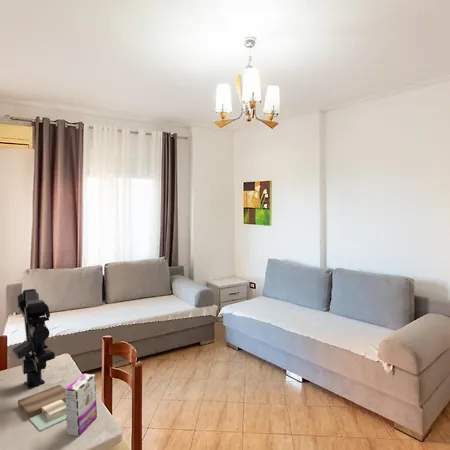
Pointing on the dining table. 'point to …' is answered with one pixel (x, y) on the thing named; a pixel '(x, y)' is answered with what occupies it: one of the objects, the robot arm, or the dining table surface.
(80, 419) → the candy bar box
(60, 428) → the dining table surface
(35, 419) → the sage mat
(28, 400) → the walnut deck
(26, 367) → the robot arm
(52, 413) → the birch block
